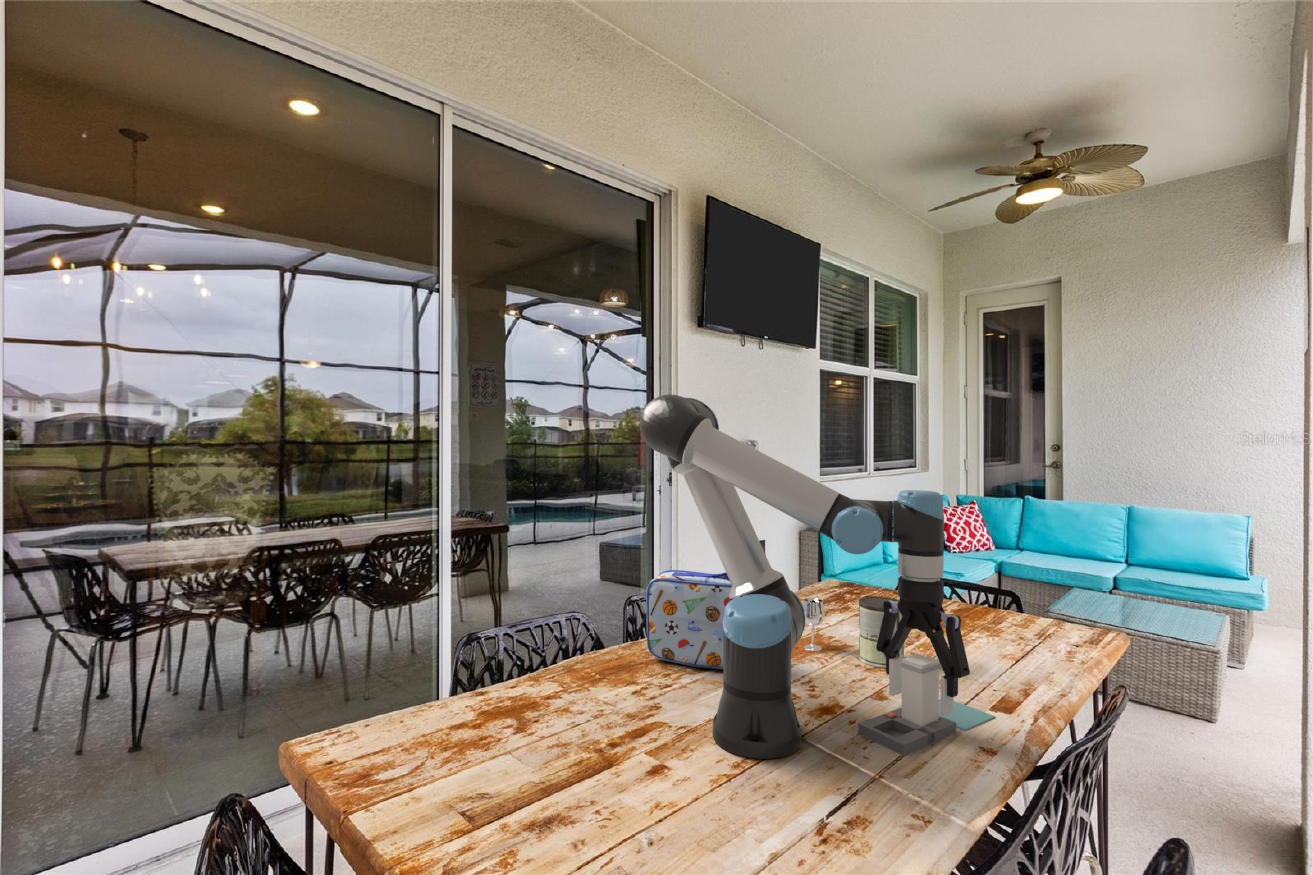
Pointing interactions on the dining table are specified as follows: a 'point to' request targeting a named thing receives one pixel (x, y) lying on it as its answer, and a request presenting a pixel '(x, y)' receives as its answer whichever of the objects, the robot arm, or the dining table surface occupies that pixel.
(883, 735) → the power strip
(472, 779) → the dining table surface
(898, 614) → the coffee can
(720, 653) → the lunch box
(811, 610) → the wineglass
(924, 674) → the block
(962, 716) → the pad
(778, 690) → the robot arm
